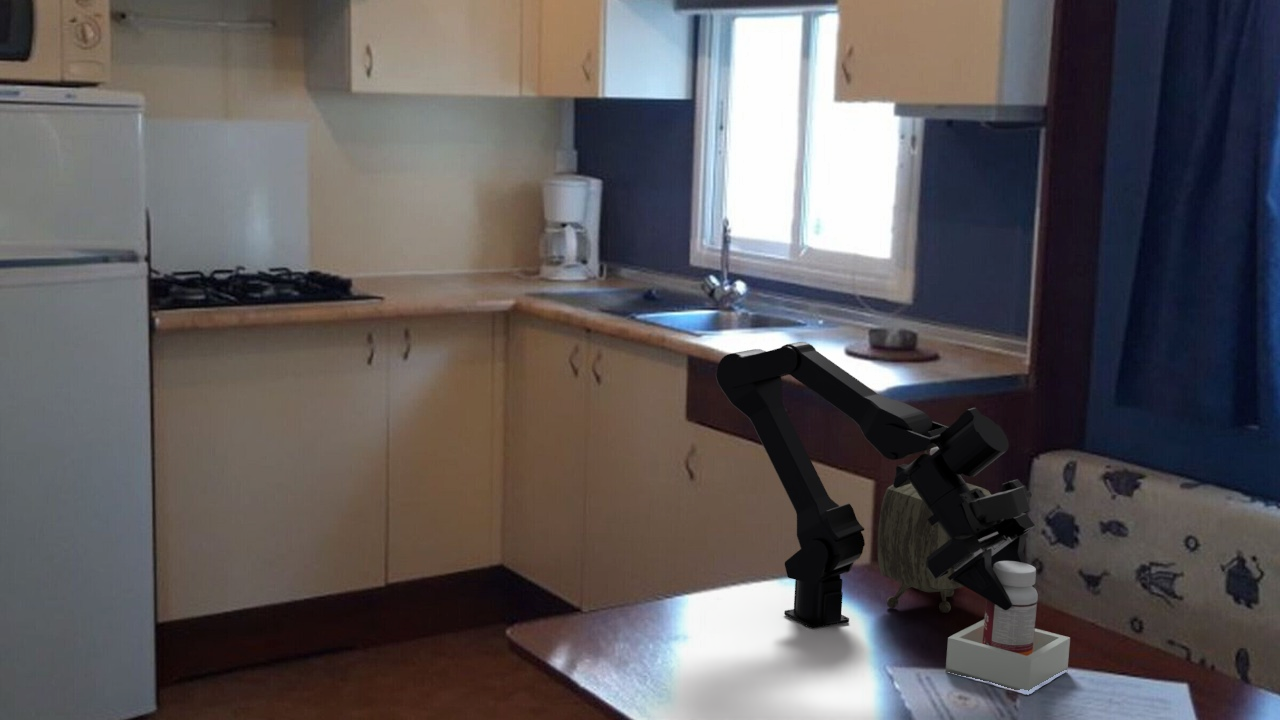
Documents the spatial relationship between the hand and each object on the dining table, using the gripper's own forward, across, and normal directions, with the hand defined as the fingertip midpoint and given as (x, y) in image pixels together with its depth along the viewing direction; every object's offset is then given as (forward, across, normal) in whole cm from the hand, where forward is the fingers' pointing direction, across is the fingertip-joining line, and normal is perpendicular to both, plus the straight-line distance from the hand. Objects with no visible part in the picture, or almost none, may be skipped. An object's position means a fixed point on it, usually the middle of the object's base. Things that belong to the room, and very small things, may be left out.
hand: (1021, 602), depth 191 cm
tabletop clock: (-7, +16, +21) cm, 27 cm away
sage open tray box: (+6, 0, +7) cm, 9 cm away
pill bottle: (+4, 0, +6) cm, 7 cm away
